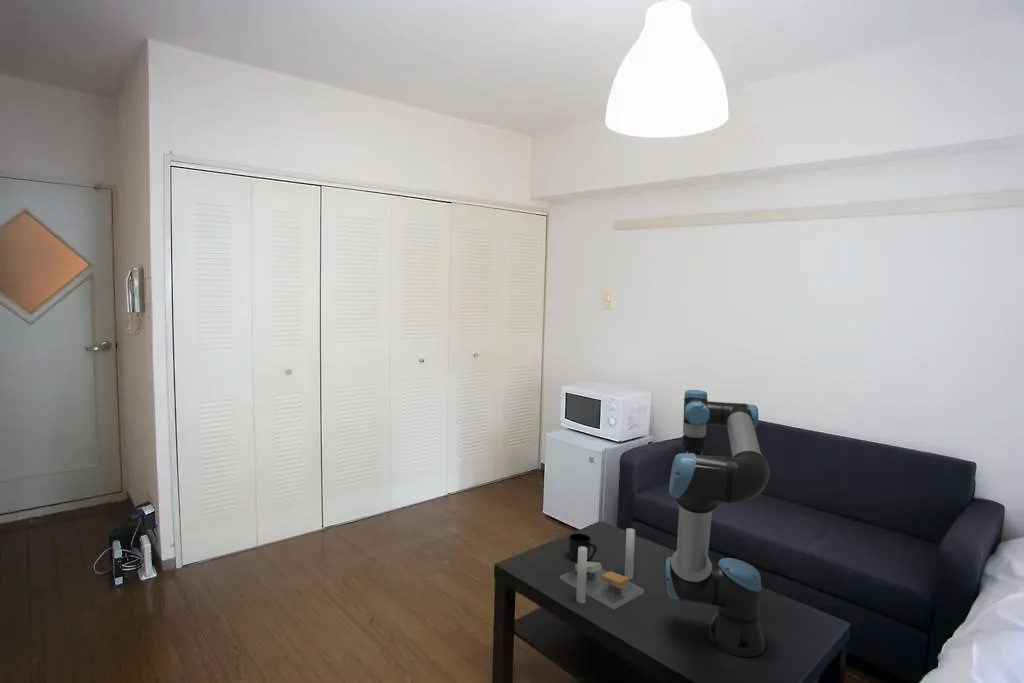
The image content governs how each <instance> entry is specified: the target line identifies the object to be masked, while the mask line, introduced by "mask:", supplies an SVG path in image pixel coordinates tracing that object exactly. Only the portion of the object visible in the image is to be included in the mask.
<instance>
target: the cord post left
mask: <svg viewBox="0 0 1024 683" xmlns="http://www.w3.org/2000/svg"><path fill="white" fill-rule="evenodd" d="M587 560H588V559H587V547H584V546H580V547H578V562H577V564H578V567H577V589H576V597H575V598H576V602H577V603H579V604H585V603H586V600H587V599H586V597H587V594H586V573H587Z"/></svg>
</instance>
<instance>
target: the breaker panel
mask: <svg viewBox="0 0 1024 683" xmlns="http://www.w3.org/2000/svg"><path fill="white" fill-rule="evenodd" d="M608 572H609V571H607V570H605V569H603V568H602V569H600V570H598V571H596V572H593V573H590V572H587V573H586V596H589V597H590V598H592V599H594V600H595V601H598V602H599V603H601V604H602V605H604V606H606V607H607V608H609V609H612V610H616V609H618V608H619V607H621V606H624V605H625V604H627V603H629V602H631V601H632V600H635V599H636V598H638V597H640V596H642V595H643V594H645V593H644V591H645V588H644V587H641V586H639V585H637V584H635V583H633V582H631V581H629V585H626V586H624V587H622V588H617V587H615V586H612V585H610V584H607V583H604V582H602V581H601V575H603V574H605V573H608ZM559 580H560V581H562V582H563V583H566V584H567V585H569V586H571V587H573V588H575V589H576V590H577V571H576V569H573V570H571V571H568V572H566V573H564V574H561V575H559Z"/></svg>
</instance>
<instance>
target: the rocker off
mask: <svg viewBox="0 0 1024 683" xmlns="http://www.w3.org/2000/svg"><path fill="white" fill-rule="evenodd" d="M607 572H608V573H605V574H603V575H601V581H602V582H604V583H607V584H610V585H612V586H615V587H617V588H622V587H624V586H626V585H629V582H630V579H629V578H628V577H625V575H622V574H619V573H616V572H614V571H607Z"/></svg>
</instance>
